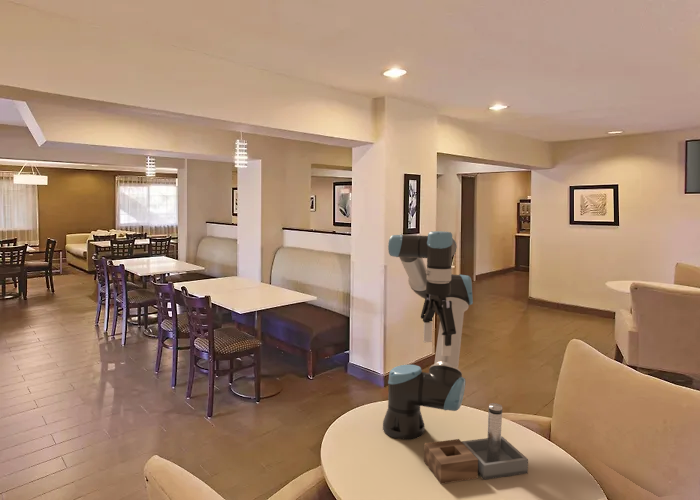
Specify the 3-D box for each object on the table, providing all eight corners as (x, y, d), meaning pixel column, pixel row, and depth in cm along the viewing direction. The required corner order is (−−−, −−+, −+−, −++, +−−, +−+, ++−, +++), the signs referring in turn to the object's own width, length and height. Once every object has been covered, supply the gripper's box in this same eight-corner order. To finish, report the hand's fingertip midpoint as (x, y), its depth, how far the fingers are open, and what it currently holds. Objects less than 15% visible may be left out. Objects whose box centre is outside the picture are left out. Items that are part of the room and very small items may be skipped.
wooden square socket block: (423, 461, 141) (424, 443, 140) (458, 456, 144) (458, 439, 143) (440, 483, 129) (441, 464, 129) (477, 478, 132) (478, 459, 132)
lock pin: (483, 457, 142) (486, 403, 140) (495, 456, 143) (497, 402, 141) (490, 464, 138) (493, 409, 136) (502, 463, 139) (505, 408, 137)
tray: (460, 454, 145) (461, 441, 145) (501, 449, 149) (502, 436, 148) (483, 479, 132) (484, 465, 131) (527, 473, 135) (528, 459, 135)
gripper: (412, 275, 148) (410, 337, 149) (445, 288, 123) (442, 362, 125) (432, 275, 149) (430, 336, 151) (469, 288, 125) (466, 360, 127)
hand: (436, 348), depth 138 cm, fingers open, 13 cm apart
